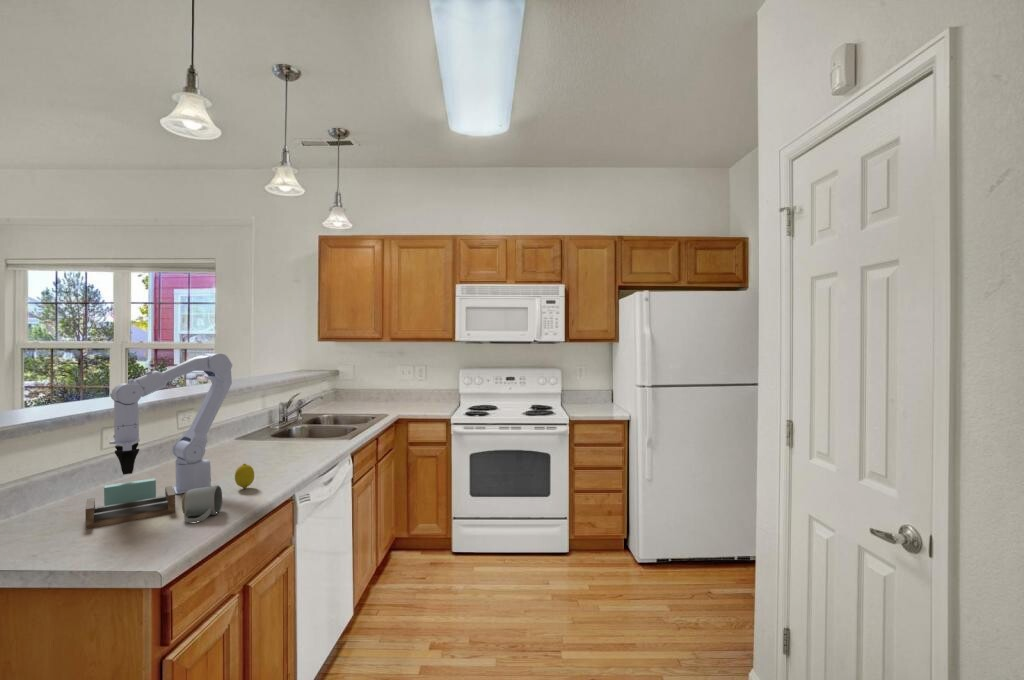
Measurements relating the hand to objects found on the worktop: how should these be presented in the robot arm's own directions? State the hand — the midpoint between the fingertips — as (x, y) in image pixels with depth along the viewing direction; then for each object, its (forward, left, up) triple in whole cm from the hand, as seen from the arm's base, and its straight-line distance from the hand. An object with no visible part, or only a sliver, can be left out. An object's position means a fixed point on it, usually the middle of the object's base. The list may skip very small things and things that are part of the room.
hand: (127, 471), depth 148 cm
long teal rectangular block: (-1, 0, -10) cm, 10 cm away
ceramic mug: (-16, +27, -10) cm, 32 cm away
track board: (-1, +13, -9) cm, 16 cm away
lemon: (-30, +6, -10) cm, 32 cm away
